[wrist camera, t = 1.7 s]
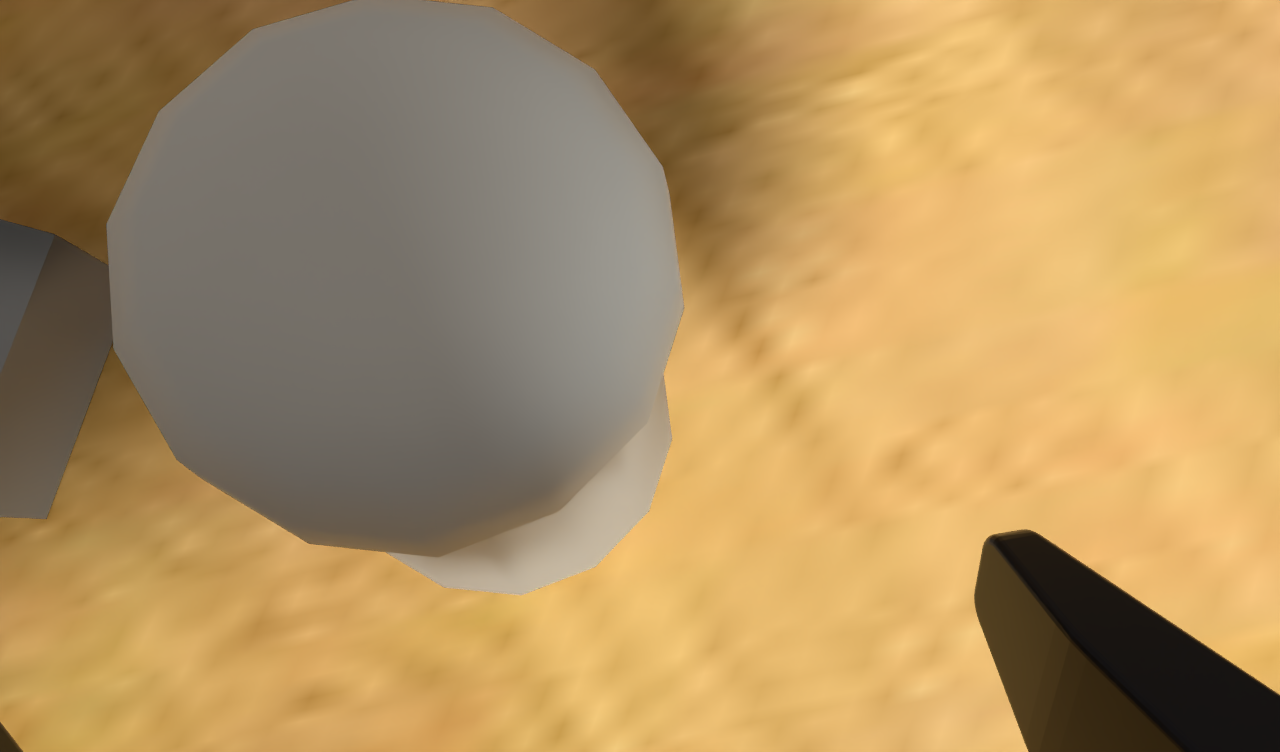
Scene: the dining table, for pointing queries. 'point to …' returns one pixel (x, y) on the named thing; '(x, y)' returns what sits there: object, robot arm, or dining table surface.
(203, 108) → the salt shaker
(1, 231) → the grey square frame
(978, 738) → the dining table surface
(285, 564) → the dining table surface
